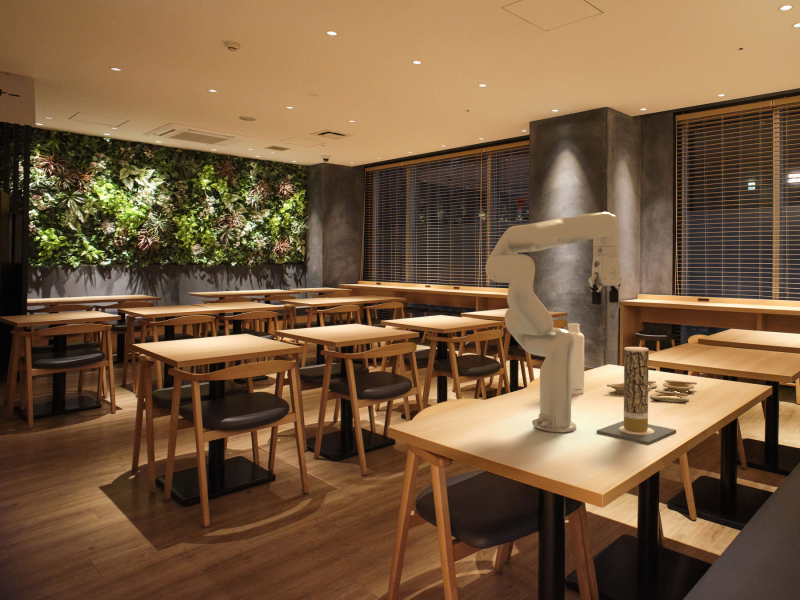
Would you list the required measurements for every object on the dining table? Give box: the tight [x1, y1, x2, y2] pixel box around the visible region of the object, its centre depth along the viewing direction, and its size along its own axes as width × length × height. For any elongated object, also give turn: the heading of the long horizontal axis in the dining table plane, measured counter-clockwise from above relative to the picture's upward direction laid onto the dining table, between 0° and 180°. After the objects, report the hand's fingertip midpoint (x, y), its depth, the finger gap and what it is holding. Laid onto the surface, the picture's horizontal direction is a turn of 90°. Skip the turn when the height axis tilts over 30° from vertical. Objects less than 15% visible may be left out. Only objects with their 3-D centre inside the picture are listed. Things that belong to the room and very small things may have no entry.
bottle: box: [567, 322, 585, 395], centre depth 229 cm, size 8×8×28 cm
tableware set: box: [606, 379, 698, 403], centre depth 228 cm, size 35×29×4 cm
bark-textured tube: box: [623, 346, 650, 432], centre depth 171 cm, size 7×7×25 cm
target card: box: [596, 420, 677, 445], centre depth 172 cm, size 18×16×1 cm
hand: (605, 303), depth 189 cm, fingers open, 9 cm apart
